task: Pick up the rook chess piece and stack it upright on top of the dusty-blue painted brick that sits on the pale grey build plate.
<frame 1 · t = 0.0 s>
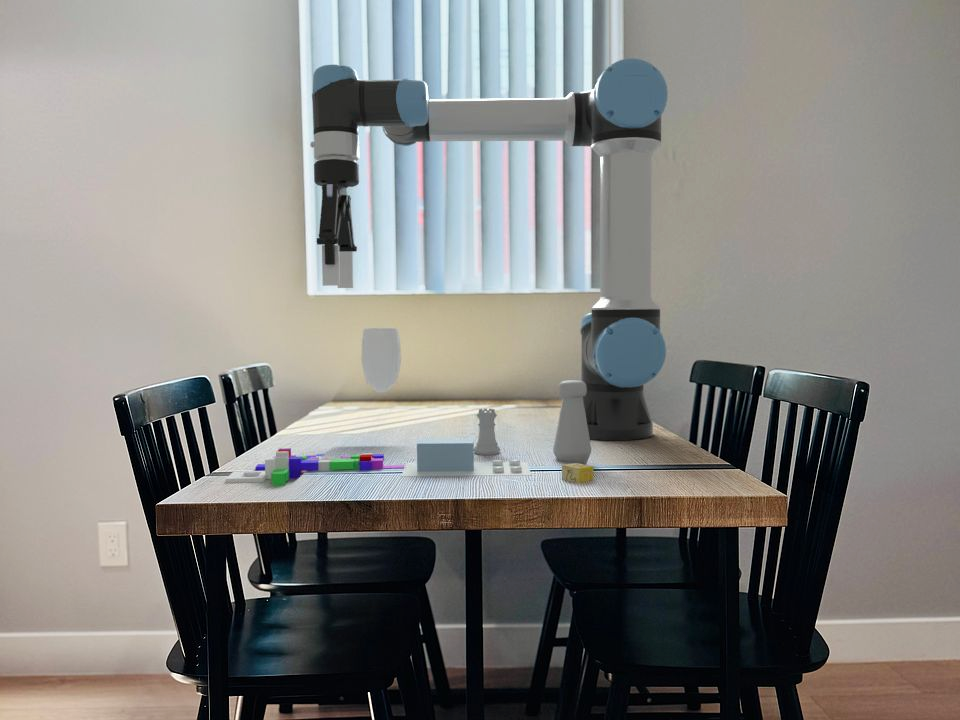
hand: (338, 287, 138), 28 cm above the table, fingers open, 13 cm apart
alphabet block: (577, 489, 108), on the table
build plate: (466, 475, 116), on the table
salt shaker: (572, 466, 123), on the table
building block set: (321, 475, 121), on the table
rook chess piece: (487, 460, 129), on the table
blue brick: (446, 468, 116), point 1 cm above the table, touching build plate
cup: (382, 442, 147), on the table
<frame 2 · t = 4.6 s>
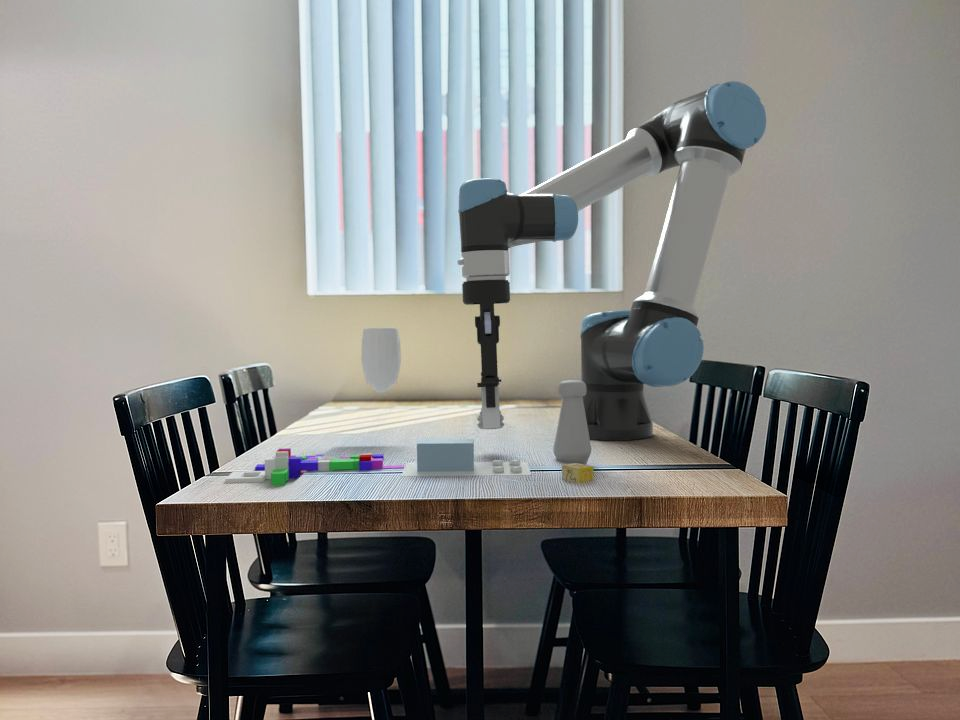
hand: (491, 424, 129), 5 cm above the table, fingers closed on rook chess piece, 4 cm apart
rook chess piece: (490, 428, 129), point 5 cm above the table, touching gripper
everything else where it was.
when the fingers open (6 cm above the table, at t = 8.3 s): rook chess piece stays where it is, resting on blue brick.
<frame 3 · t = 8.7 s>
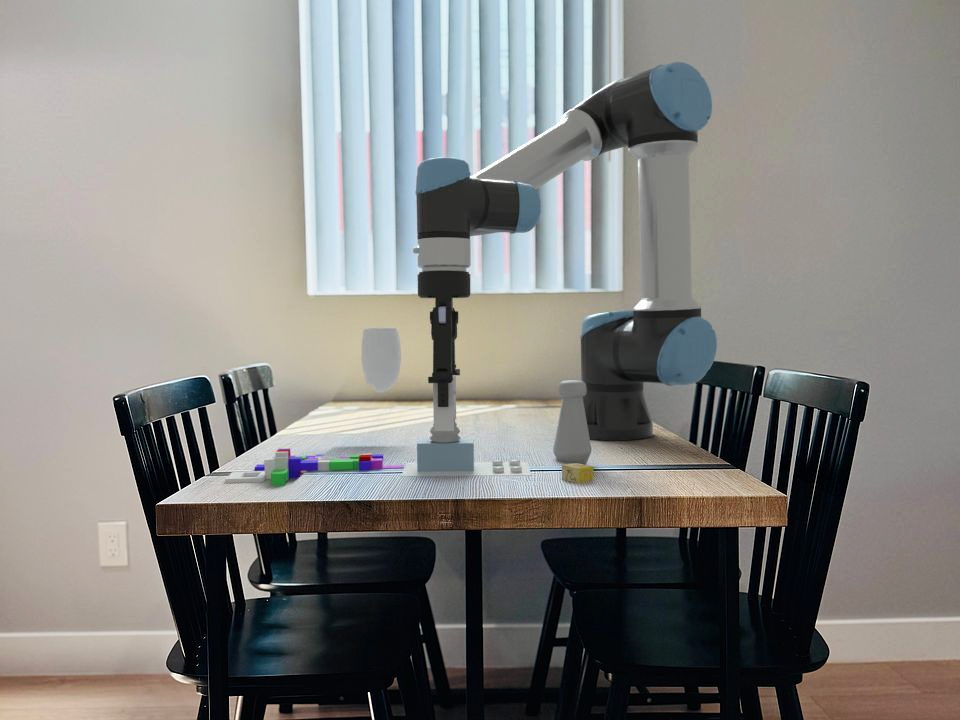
hand: (445, 424, 115), 7 cm above the table, fingers open, 10 cm apart
rook chess piece: (445, 442, 115), point 5 cm above the table, touching blue brick
blue brick: (446, 468, 116), point 1 cm above the table, touching build plate, rook chess piece
everything else where it was.
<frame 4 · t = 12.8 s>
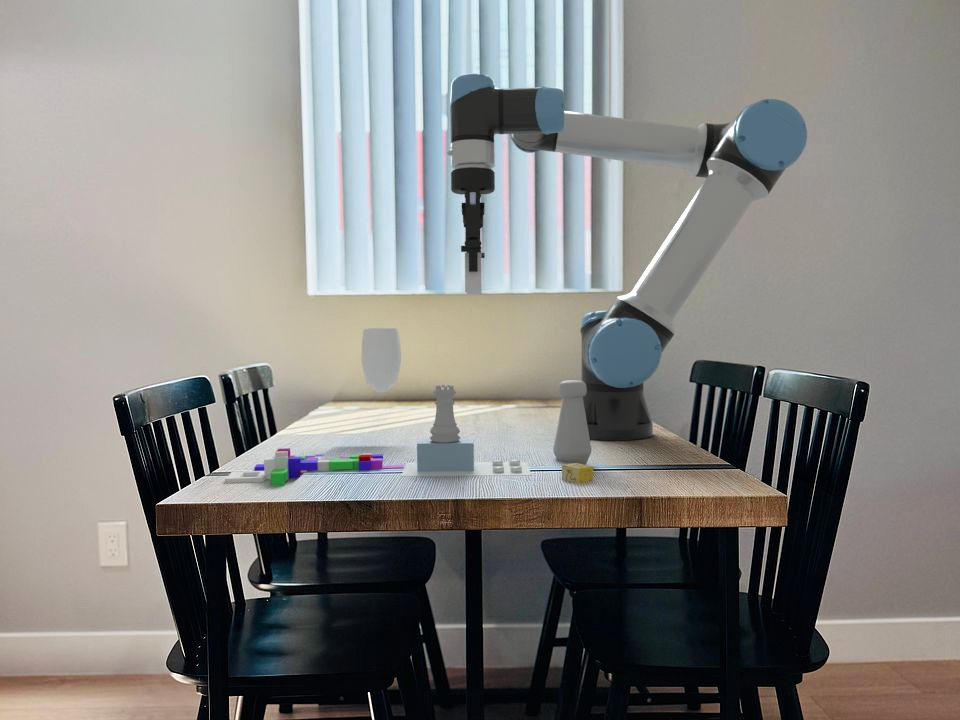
hand: (473, 293, 139), 27 cm above the table, fingers open, 13 cm apart
nothing on the table moved.
at the end: rook chess piece 0.1 cm off-centre on the blue brick, point 3.8 cm above the blue brick's base; rook chess piece tilted 0°; the gripper is holding nothing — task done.
